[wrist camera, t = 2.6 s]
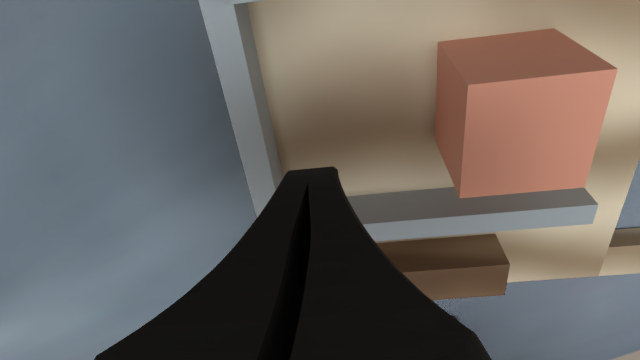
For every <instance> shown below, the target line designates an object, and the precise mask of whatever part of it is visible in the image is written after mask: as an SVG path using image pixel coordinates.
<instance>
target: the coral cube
mask: <svg viewBox="0 0 640 360" xmlns="http://www.w3.org/2000/svg"><path fill="white" fill-rule="evenodd" d="M617 71H618V68H616V67H614V66H613V65H611V64H610V63H608V62H607V61H605V60H603V59H602V58H600V57H599V56H597V55H596V54H594V53H592V52H591V51H589V50H588V49H586V48H585V47H583V46H581V45H580V44H578V43H577V42H575V41H574V40H572V39H570V38H569V37H567V36H566V35H564V34H563V33H561V32H559V31H558V30H556V29H555V28H551V29H542V30H534V31H525V32H517V33H508V34H500V35H491V36H483V37H474V38H466V39H457V40H448V41H440V42H438V53H437V84H436V115H435V141H436V144H437V146H438V148H439V151H440V153H441V156H442V158H443V160H444V163H445V165H446V167H447V170H448V172H449V175H450V177H451V179H452V182H453V184H454V187H455V189H456V191H457V194H458V196H459V198H470V197H481V196H493V195H504V194H515V193H527V192H538V191H550V190H561V189H573V188H584V187H585V185H586V182H587V178H588V175H589V171H590V167H591V164H592V160H593V157H594V153H595V150H596V146H597V142H598V139H599V135H600V132H601V128H602V124H603V121H604V117H605V114H606V110H607V107H608V103H609V99H610V96H611V92H612V89H613V85H614V81H615V78H616V74H617Z"/></svg>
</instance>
